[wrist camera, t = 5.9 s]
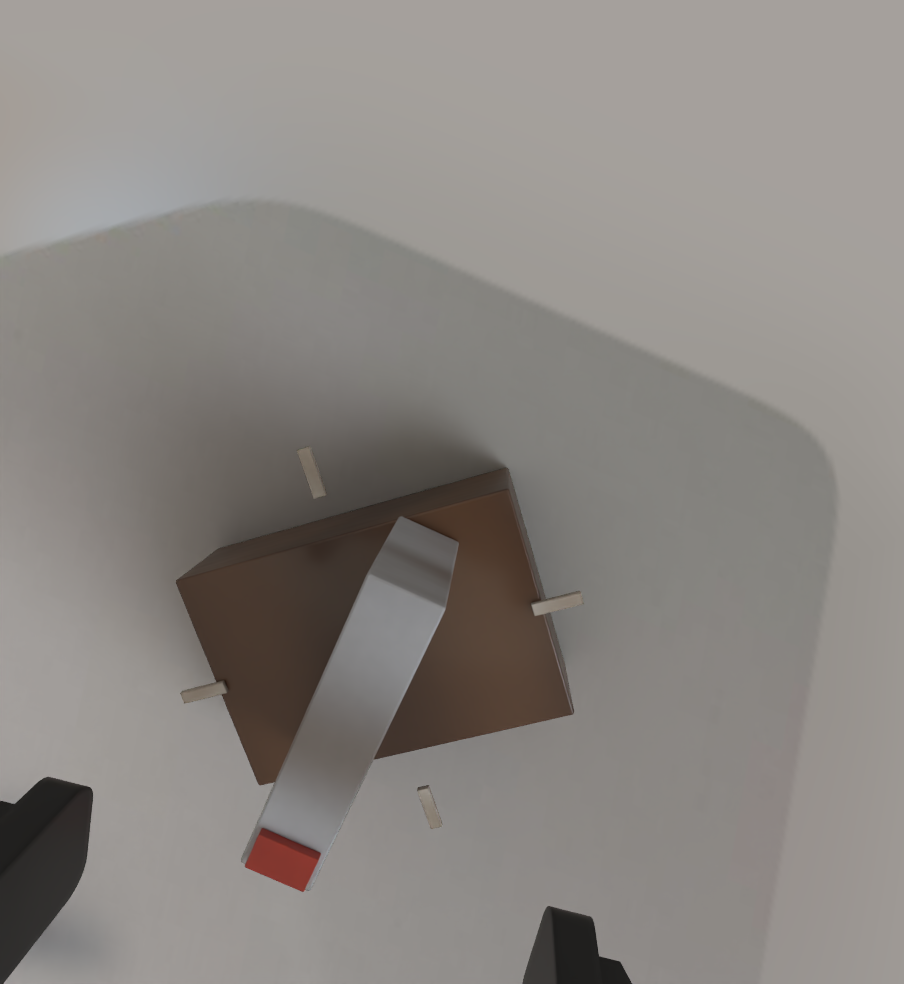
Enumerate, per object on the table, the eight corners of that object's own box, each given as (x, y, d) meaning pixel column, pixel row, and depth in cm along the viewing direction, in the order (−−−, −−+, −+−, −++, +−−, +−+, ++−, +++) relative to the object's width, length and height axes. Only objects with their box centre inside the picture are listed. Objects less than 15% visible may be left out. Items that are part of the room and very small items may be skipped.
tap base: (519, 375, 20) (522, 383, 17) (616, 725, 23) (634, 786, 20) (157, 484, 22) (101, 508, 19) (284, 799, 24) (253, 866, 21)
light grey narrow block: (400, 515, 18) (364, 577, 14) (459, 541, 18) (445, 613, 14) (297, 746, 20) (234, 871, 15) (351, 769, 20) (306, 901, 16)
